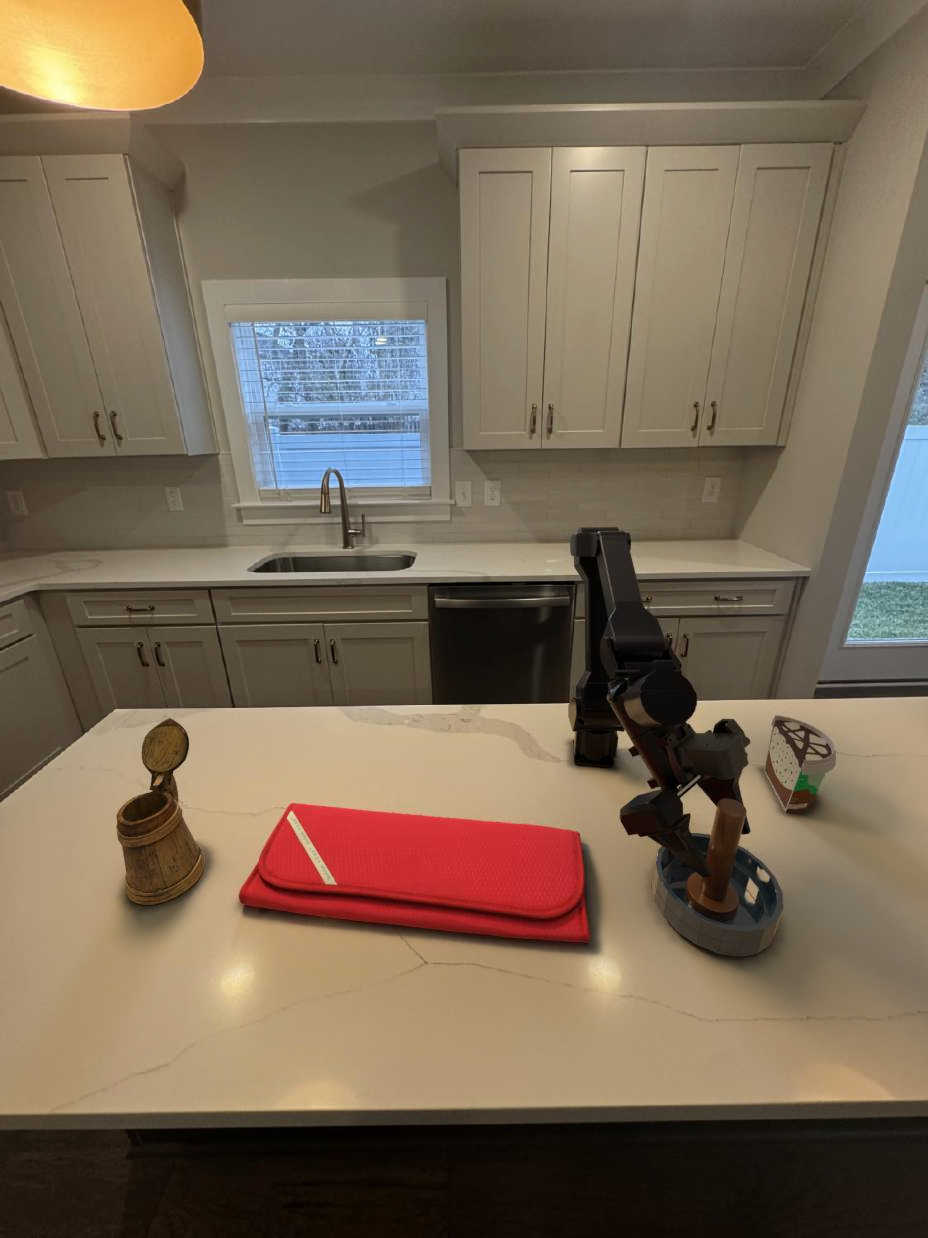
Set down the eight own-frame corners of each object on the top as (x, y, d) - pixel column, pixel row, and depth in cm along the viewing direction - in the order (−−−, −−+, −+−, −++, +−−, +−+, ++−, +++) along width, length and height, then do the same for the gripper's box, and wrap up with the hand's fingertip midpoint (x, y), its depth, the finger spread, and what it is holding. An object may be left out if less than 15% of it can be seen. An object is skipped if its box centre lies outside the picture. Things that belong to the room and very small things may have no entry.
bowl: (662, 950, 55) (668, 921, 54) (643, 853, 67) (647, 827, 66) (794, 969, 53) (804, 939, 51) (750, 866, 65) (757, 839, 63)
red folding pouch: (590, 951, 55) (593, 927, 54) (238, 912, 60) (232, 889, 59) (578, 839, 70) (580, 818, 68) (295, 815, 75) (291, 795, 73)
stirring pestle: (691, 917, 58) (711, 823, 53) (680, 877, 63) (698, 786, 58) (743, 925, 57) (770, 829, 52) (728, 883, 62) (751, 792, 57)
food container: (837, 825, 71) (857, 767, 67) (789, 819, 72) (806, 762, 69) (802, 769, 82) (817, 717, 79) (760, 765, 83) (773, 713, 80)
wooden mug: (230, 821, 74) (204, 716, 67) (185, 904, 61) (148, 785, 55) (169, 823, 74) (137, 717, 67) (111, 907, 61) (64, 787, 54)
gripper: (657, 740, 49) (754, 900, 45) (745, 678, 60) (829, 803, 56) (586, 766, 57) (662, 902, 54) (673, 708, 68) (742, 818, 64)
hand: (728, 854), depth 57 cm, fingers open, 9 cm apart
